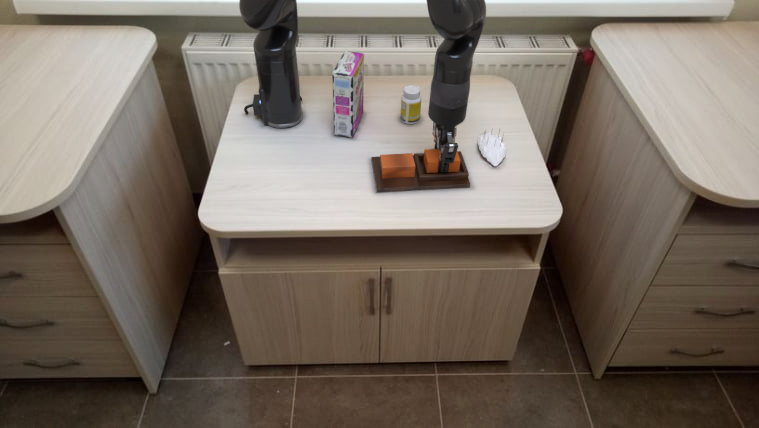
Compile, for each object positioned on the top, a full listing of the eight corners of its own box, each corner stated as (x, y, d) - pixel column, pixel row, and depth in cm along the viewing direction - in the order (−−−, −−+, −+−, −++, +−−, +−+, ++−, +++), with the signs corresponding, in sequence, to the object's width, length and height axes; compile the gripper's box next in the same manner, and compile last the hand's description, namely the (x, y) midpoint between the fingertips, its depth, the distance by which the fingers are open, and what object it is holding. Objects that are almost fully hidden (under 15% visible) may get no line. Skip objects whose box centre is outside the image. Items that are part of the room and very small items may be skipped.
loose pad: (426, 173, 116) (427, 162, 114) (423, 160, 119) (424, 149, 117) (458, 171, 116) (460, 160, 114) (454, 158, 120) (456, 147, 117)
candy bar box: (354, 138, 127) (353, 76, 116) (333, 136, 128) (330, 73, 117) (364, 113, 135) (364, 52, 124) (345, 110, 136) (343, 49, 125)
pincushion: (473, 135, 129) (477, 115, 125) (499, 135, 129) (503, 115, 125) (481, 167, 120) (485, 146, 117) (508, 167, 121) (513, 146, 117)
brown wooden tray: (376, 192, 114) (376, 178, 111) (371, 160, 121) (371, 145, 119) (469, 187, 115) (472, 172, 113) (459, 155, 123) (461, 141, 121)
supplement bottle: (422, 117, 134) (425, 87, 129) (415, 126, 131) (417, 96, 126) (404, 112, 136) (406, 82, 130) (397, 121, 133) (398, 91, 127)
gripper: (424, 78, 110) (418, 146, 122) (436, 117, 100) (429, 187, 112) (460, 77, 111) (451, 144, 123) (476, 115, 101) (464, 185, 113)
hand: (440, 164), depth 117 cm, fingers closed on loose pad, 4 cm apart
